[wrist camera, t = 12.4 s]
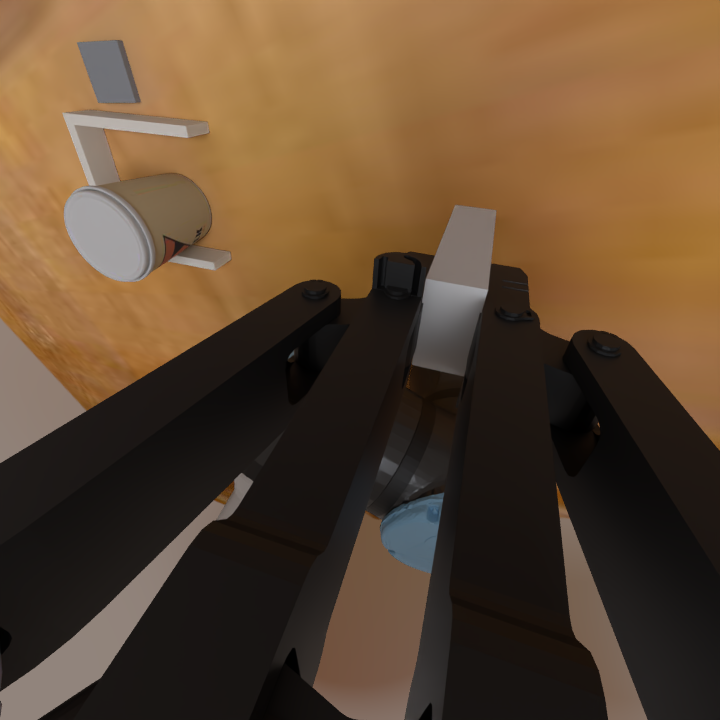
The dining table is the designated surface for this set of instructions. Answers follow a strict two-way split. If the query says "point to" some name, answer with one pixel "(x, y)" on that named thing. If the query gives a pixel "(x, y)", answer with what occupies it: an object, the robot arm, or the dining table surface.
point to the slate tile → (109, 71)
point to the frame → (102, 168)
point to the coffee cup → (136, 223)
